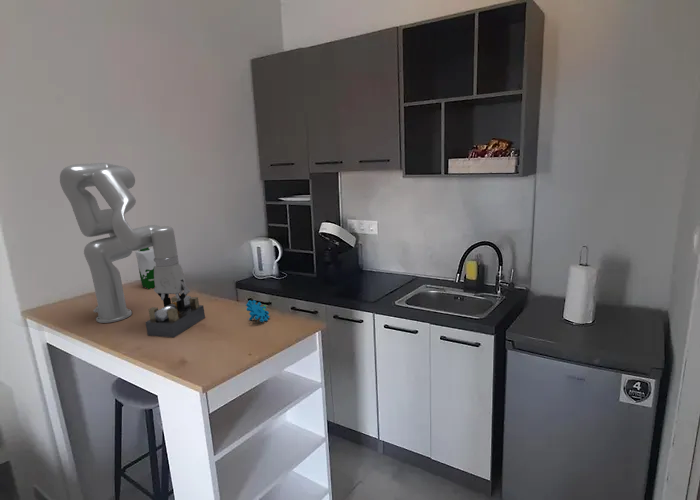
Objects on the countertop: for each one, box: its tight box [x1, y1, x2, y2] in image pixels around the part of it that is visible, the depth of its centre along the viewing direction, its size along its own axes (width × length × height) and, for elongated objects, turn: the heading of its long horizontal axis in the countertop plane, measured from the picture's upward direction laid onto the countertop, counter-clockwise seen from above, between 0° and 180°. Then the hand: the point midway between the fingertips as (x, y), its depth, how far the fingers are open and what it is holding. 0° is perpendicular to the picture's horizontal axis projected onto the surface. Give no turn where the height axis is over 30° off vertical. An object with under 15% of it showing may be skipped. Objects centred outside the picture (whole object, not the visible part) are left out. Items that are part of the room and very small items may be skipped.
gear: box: [245, 299, 270, 323], centre depth 161 cm, size 11×6×10 cm
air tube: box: [155, 295, 192, 322], centre depth 159 cm, size 16×4×4 cm, turn 163°
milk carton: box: [134, 247, 156, 290], centre depth 211 cm, size 9×9×20 cm
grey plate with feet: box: [145, 295, 206, 338], centre depth 159 cm, size 11×18×9 cm, turn 163°
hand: (174, 309), depth 159 cm, fingers open, 5 cm apart
